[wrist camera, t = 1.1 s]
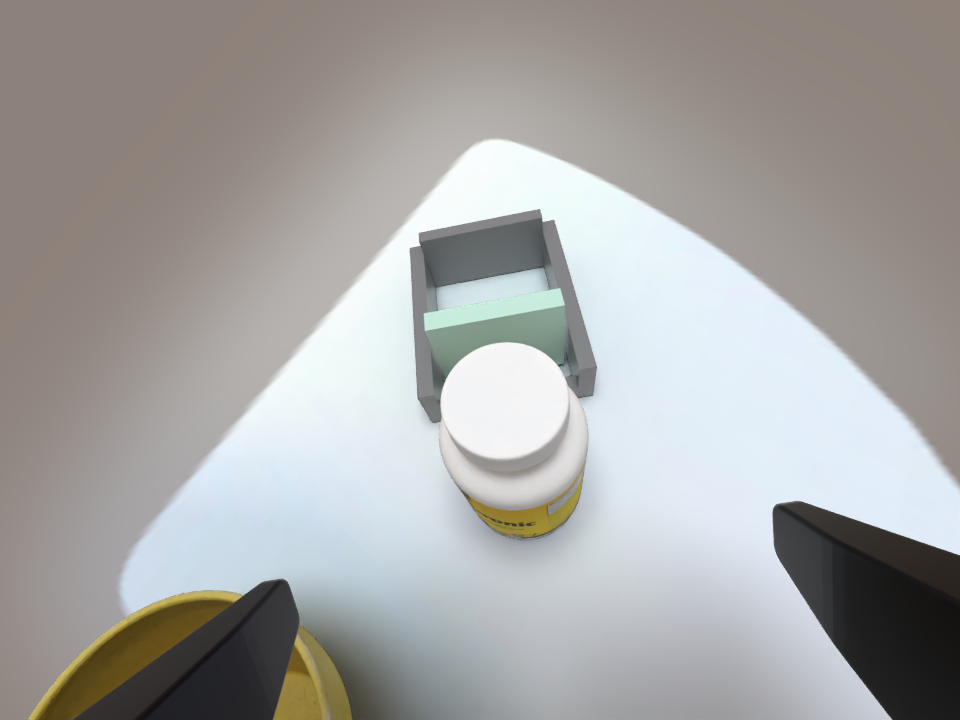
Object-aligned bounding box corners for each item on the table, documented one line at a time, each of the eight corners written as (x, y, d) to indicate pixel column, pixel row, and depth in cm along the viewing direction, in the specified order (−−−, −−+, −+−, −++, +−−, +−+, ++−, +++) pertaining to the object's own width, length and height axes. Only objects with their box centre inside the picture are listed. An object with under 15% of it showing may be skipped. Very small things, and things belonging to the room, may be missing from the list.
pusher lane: (592, 395, 24) (598, 355, 21) (432, 422, 25) (411, 388, 21) (554, 255, 29) (553, 206, 26) (422, 281, 30) (405, 235, 27)
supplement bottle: (446, 493, 23) (381, 411, 14) (514, 411, 24) (491, 295, 16) (535, 569, 20) (520, 523, 12) (604, 473, 22) (631, 375, 14)
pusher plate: (563, 363, 25) (564, 305, 21) (448, 383, 25) (424, 330, 21) (560, 348, 26) (560, 287, 21) (446, 368, 26) (423, 313, 22)
